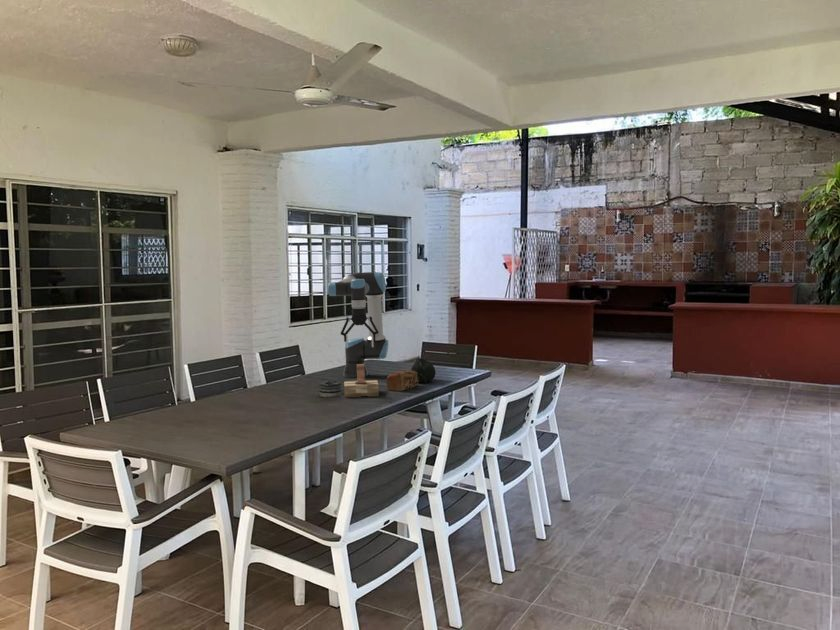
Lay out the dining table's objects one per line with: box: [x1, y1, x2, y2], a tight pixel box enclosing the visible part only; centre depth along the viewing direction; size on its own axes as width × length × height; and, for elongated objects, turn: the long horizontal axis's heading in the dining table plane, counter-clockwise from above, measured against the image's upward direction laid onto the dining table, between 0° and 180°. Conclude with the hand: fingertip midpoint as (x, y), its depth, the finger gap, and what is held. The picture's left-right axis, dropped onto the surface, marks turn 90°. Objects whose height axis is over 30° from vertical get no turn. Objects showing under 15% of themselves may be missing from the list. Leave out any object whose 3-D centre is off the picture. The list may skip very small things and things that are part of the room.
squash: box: [410, 357, 437, 384], centre depth 385 cm, size 14×15×15 cm
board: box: [343, 379, 380, 398], centre depth 354 cm, size 14×18×6 cm
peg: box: [356, 364, 366, 384], centre depth 353 cm, size 4×4×14 cm
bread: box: [386, 369, 419, 392], centre depth 368 cm, size 19×11×10 cm, turn 149°
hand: (360, 347), depth 352 cm, fingers open, 13 cm apart
